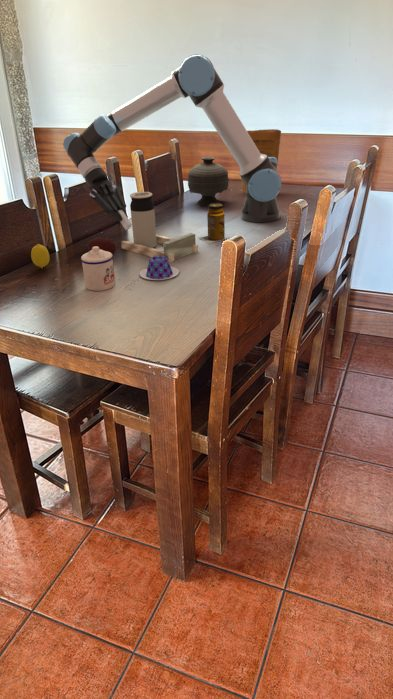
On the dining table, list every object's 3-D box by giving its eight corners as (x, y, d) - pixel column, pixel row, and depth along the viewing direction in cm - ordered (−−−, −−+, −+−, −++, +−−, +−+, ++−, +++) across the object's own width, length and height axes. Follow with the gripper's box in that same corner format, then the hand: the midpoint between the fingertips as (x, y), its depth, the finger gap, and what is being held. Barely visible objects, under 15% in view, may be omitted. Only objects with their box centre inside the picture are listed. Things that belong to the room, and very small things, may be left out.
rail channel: (121, 248, 184) (120, 231, 181) (149, 239, 192) (147, 222, 189) (171, 262, 170) (169, 244, 167) (198, 251, 178) (197, 234, 175)
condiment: (229, 238, 190) (229, 205, 184) (210, 243, 186) (209, 209, 180) (217, 234, 195) (217, 201, 189) (198, 238, 191) (197, 205, 185)
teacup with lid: (110, 292, 150) (105, 252, 145) (80, 291, 152) (74, 252, 146) (122, 276, 161) (118, 239, 155) (94, 275, 162) (89, 238, 156)
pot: (237, 198, 238) (234, 152, 227) (217, 211, 225) (213, 163, 215) (203, 196, 246) (199, 151, 236) (182, 208, 234) (177, 162, 224)
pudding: (136, 271, 165) (134, 255, 163) (173, 265, 168) (172, 249, 166) (144, 284, 155) (143, 267, 153) (184, 278, 158) (183, 262, 156)
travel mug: (161, 245, 185) (157, 193, 177) (144, 251, 180) (140, 198, 172) (146, 241, 190) (142, 190, 181) (129, 247, 185) (124, 194, 176)
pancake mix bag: (277, 195, 243) (280, 130, 230) (237, 194, 248) (237, 130, 235) (279, 192, 249) (282, 128, 235) (240, 190, 254) (240, 128, 240)
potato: (94, 251, 183) (92, 233, 180) (121, 253, 180) (119, 235, 177) (84, 258, 177) (81, 240, 174) (111, 260, 174) (109, 242, 171)
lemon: (35, 272, 166) (31, 248, 163) (32, 267, 171) (27, 243, 167) (53, 269, 169) (49, 244, 165) (49, 264, 173) (44, 240, 169)
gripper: (103, 177, 196) (138, 229, 194) (74, 183, 188) (110, 237, 186) (111, 163, 190) (146, 216, 188) (81, 169, 182) (118, 225, 180)
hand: (128, 227), depth 187 cm, fingers closed
